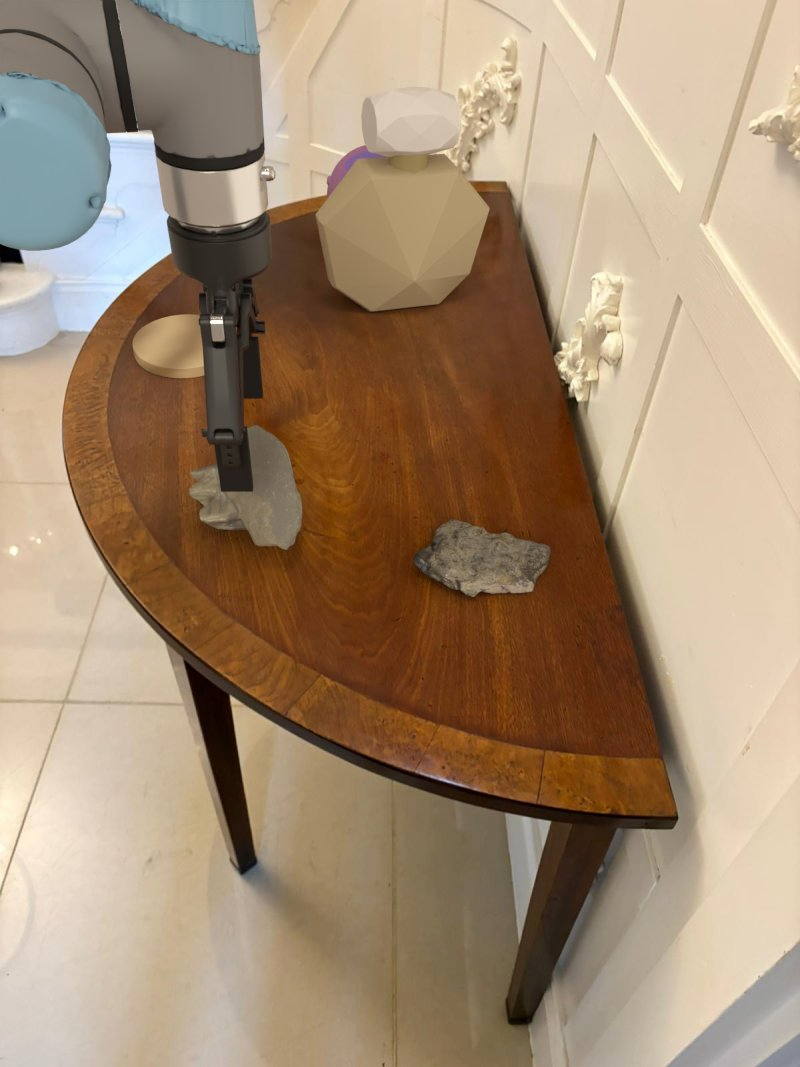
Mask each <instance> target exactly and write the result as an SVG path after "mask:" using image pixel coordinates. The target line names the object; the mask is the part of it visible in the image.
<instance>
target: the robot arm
mask: <svg viewBox="0 0 800 1067" xmlns="http://www.w3.org/2000/svg"><path fill="white" fill-rule="evenodd" d="M258 37H259V36H258V29H257V20H256V11H255V0H0V245H2V246H5V247H8V248H11V249H15V250H18V251H19V250H21V251H26V252H27V251H29V252H35V251H36V252H41V251H50V250H55V249H60V248H62V247H65V246H67V245H70V244H72V243H74V242H75V241H77V240H79V239H80V238H82V237H83V236H84V235H86V234H87V233H88V231H89V230H90V229H91V228H93V227H94V225H95V223H96V222H97V220H98V219H99V217H100V215H101V214H102V210H103V209H104V207H105V206H104V205H105V204H106V201H107V197H108V196H107V193H108V184H109V182H110V177H111V174H112V173H111V171H112V161H111V142H110V140H109V138H108V134H122V133H123V134H126V133H138V132H141V131H142V132H143V131H151V133H152V136H153V145H154V154H155V162H156V168H157V174H158V180H159V186H160V187H159V188H160V193H161V201H162V206H163V210H164V212H165V213H166V214H167V215H168V217H167V218H166V226H167V227H166V228H167V232H168V233H167V234H168V239H169V244H170V251H171V252H170V253H171V258H172V262H173V264H174V266H175V268H176V269H177V270H178V271H179V272H180V273H181V274H183V275H184V276H186V277H187V278H190V279H194V280H196V281H198V282H199V283H201V284H202V291H203V292H202V291H199V292H198V309H199V312H200V314H199V315H200V318H199V325H200V329H201V337H202V346H203V361H204V376H203V377H204V393H205V410H206V411H205V412H206V426H207V428H201V435H202V436H201V437H202V438H206V440H207V444H208V445H209V446H214V452H215V459H216V464H217V467H218V473H219V480H220V487H221V492H253V477H252V467H251V458H250V449H249V439H248V430H247V428H248V426H247V425H245V401H244V400H245V399H246V400H251V399H252V400H253V399H254V400H257V399H258V400H262V399H263V398H264V389H263V388H264V387H263V376H262V364H261V352H260V351H261V350H260V341H259V336H253V335H255V334H257V335H265V334H266V321H265V320H257V318H258V317H259V314H260V308H259V307H258V303H257V295H256V291H255V290H256V289H255V280H254V278H255V277H257V276H259V275H261V274H262V273H263V272H265V271H266V270H267V269H268V268H269V267H270V265H271V263H272V261H273V243H272V242H273V241H272V228H271V218H270V215H269V213H268V212H267V209H268V207H269V193H268V183H267V182H273V181H274V180H275V179H276V170H275V169H274V167H273V166H271V165H265V166H264V164H265V162H266V155H265V154H266V153H265V150H266V146H265V130H264V129H265V128H264V111H263V108H264V107H263V92H262V90H263V89H262V76H261V74H262V72H261V55H260V54H261V44H260V43H259V38H258Z"/></svg>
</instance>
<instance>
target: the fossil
mask: <svg viewBox="0 0 800 1067" xmlns="http://www.w3.org/2000/svg"><path fill="white" fill-rule="evenodd" d="M247 430H248V439H249V449H250V458H251V467H252V477H253V492H221V487H220V480H219V473H218V467H217V463H213V464H209V465H206V466H203V467H199V468H197V469H192V470H190V471H189V474H190V475H191V477H192V478H193V479H194V480H195V481H196V482H194V483H193V484H191V486H190V487H189V488H188V489H189V490H188V491H189V496H190V497H191V498H192V499H194V500H196V501H198V502H199V503H200V504H201V505H202V506H203V507H202V508H200V510H199V512H198V514H199V520H200V521H201V522H202V523H204V524H206V525H208V526H210V527H212V528H214V529H217V530H222V531H223V530H225V531H247V532H248V533H249V536H250V538H251V540H252V542H253V544H254V545H255V546H258V547H260V548H261V547H278V548H280V549H282V550H285V551H288V549H289V548H290V547H292V546H294V544H295V542H296V538H297V534H298V533H299V532H300V531H301V527H302V517H304V514H303V501H302V497H301V496H302V495H301V493H300V492H299V491H298V489H297V484H296V481H295V478H294V470H293V466H292V462H291V457H290V455H289V451H288V449H287V448H286V446H285V444H284V443H283V442H282V441H281V440H280V439H279V438H277V437H276V436H275V435H274V434H273V433H271V432H269V431H266V430H265V428H263V427H262V426H260V425H258V424H253V425H251V426H250V427H247Z"/></svg>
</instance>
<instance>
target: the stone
mask: <svg viewBox="0 0 800 1067" xmlns="http://www.w3.org/2000/svg"><path fill="white" fill-rule="evenodd" d="M551 554H552V549H551V547H550V546H549V545H547V544H545V543H537V542H535V541H533V540H525V539H522V538H516V537H515V536H514V535H512V534H511V533H509V532H500V533H492V532H489V531H488V530H486V529H485V527H483V526H479V525H478V526H476V525H474V524H471V523H470V522H467V521H462V520H457V519H455V518H452V519H449V520H447V521H446V522H444V523H442V524H441V525H440V526H438V527H437V528H436V529H435V531H434V534H433V538H432V540H431V542H430V544H429V545H427V546H426V547H424V548H420V549H419V550H418V551H417V552H415V553H414V556H413V559H412V562H413V564H414V566H416V567H417V568H418V569H419V570H420V571H421V573H422V574H424V575H426V576H428V577H429V578H431V579H432V580H435V581H437V582H440V583H441V584H443V585H445V586H446V587H448V588H449V589H450V590H457V591H460V592H461V593H463V594H464V595H466V596H468V597H470V598H474V597H476V596H477V595H478V594H479V593H480V592H483V593H489V594H491V595H494V594H495V595H496V594H507V593H509V594H525V593H533V592H534V590H535V586H536V583H537V579H538V578H539V577H540V576H541V575H542V574H543V573H544V572H545V570H546V568H548V565H549V562H550V559H551Z"/></svg>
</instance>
